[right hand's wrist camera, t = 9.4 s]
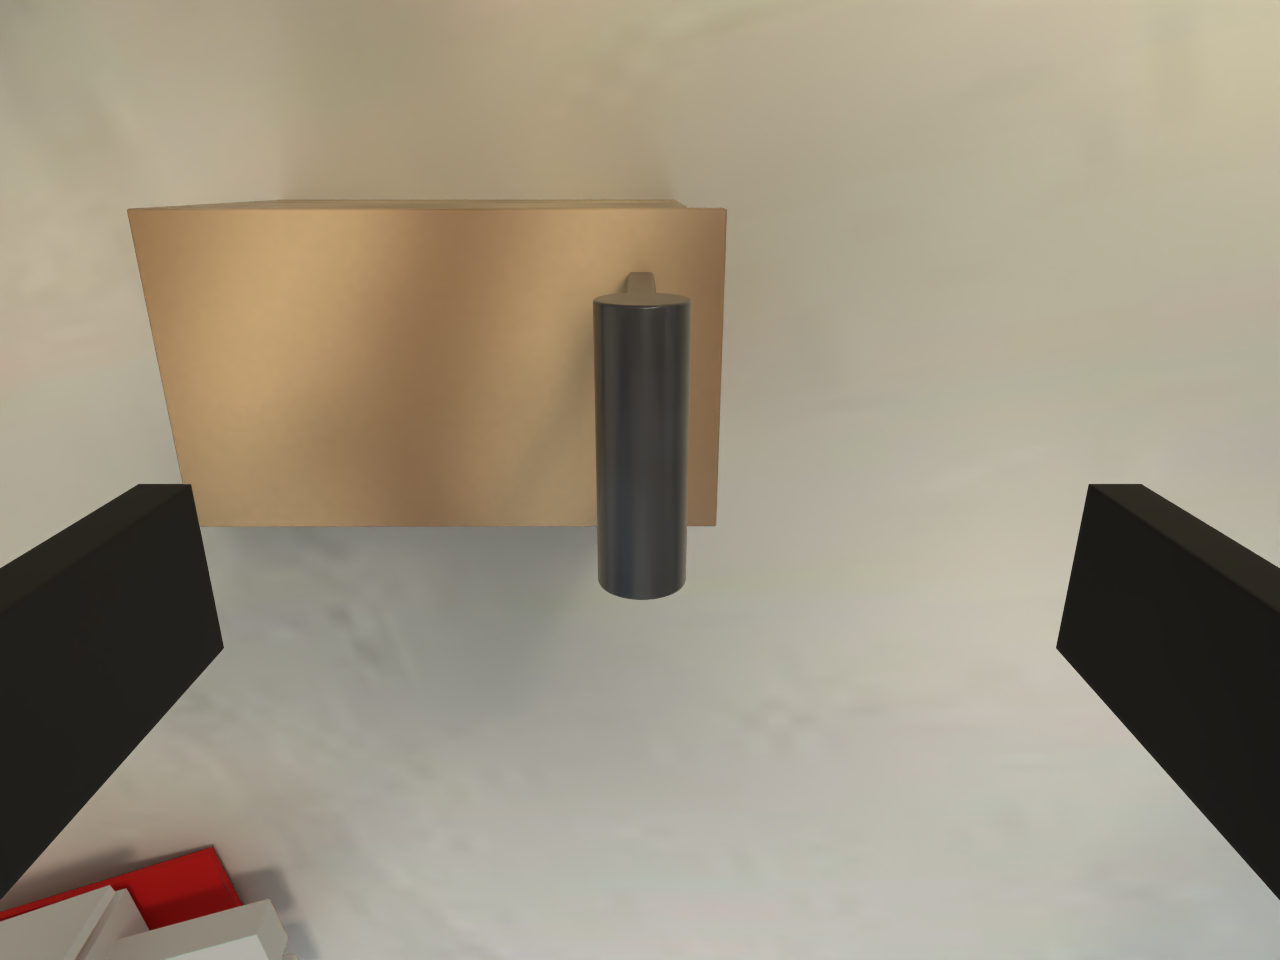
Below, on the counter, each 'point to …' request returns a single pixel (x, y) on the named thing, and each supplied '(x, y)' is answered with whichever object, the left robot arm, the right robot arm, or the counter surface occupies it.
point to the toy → (148, 919)
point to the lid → (447, 369)
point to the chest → (445, 204)
